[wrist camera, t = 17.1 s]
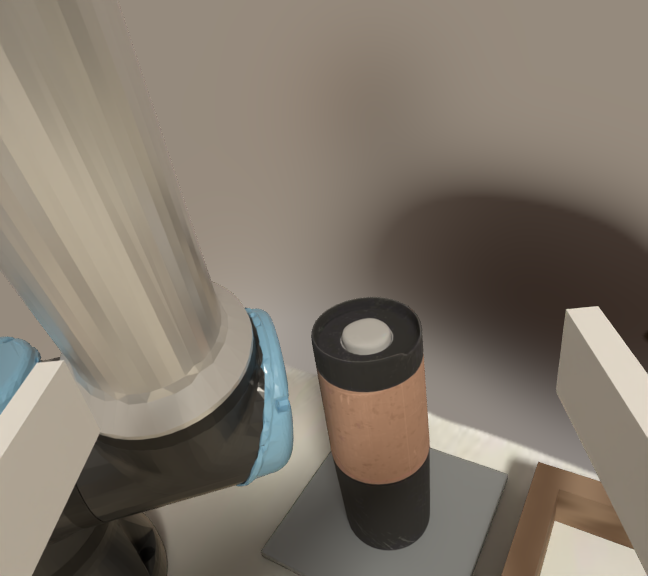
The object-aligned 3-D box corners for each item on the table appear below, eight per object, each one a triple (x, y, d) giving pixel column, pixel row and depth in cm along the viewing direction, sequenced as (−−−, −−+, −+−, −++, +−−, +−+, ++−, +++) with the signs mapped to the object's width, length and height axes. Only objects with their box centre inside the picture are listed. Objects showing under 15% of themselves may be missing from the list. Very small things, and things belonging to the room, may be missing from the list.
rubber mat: (262, 555, 46) (260, 551, 45) (352, 425, 57) (351, 421, 56) (443, 652, 37) (443, 647, 37) (507, 478, 48) (507, 474, 48)
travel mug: (337, 486, 50) (302, 308, 39) (417, 468, 50) (404, 287, 40) (354, 564, 43) (318, 375, 33) (446, 542, 44) (439, 348, 33)
